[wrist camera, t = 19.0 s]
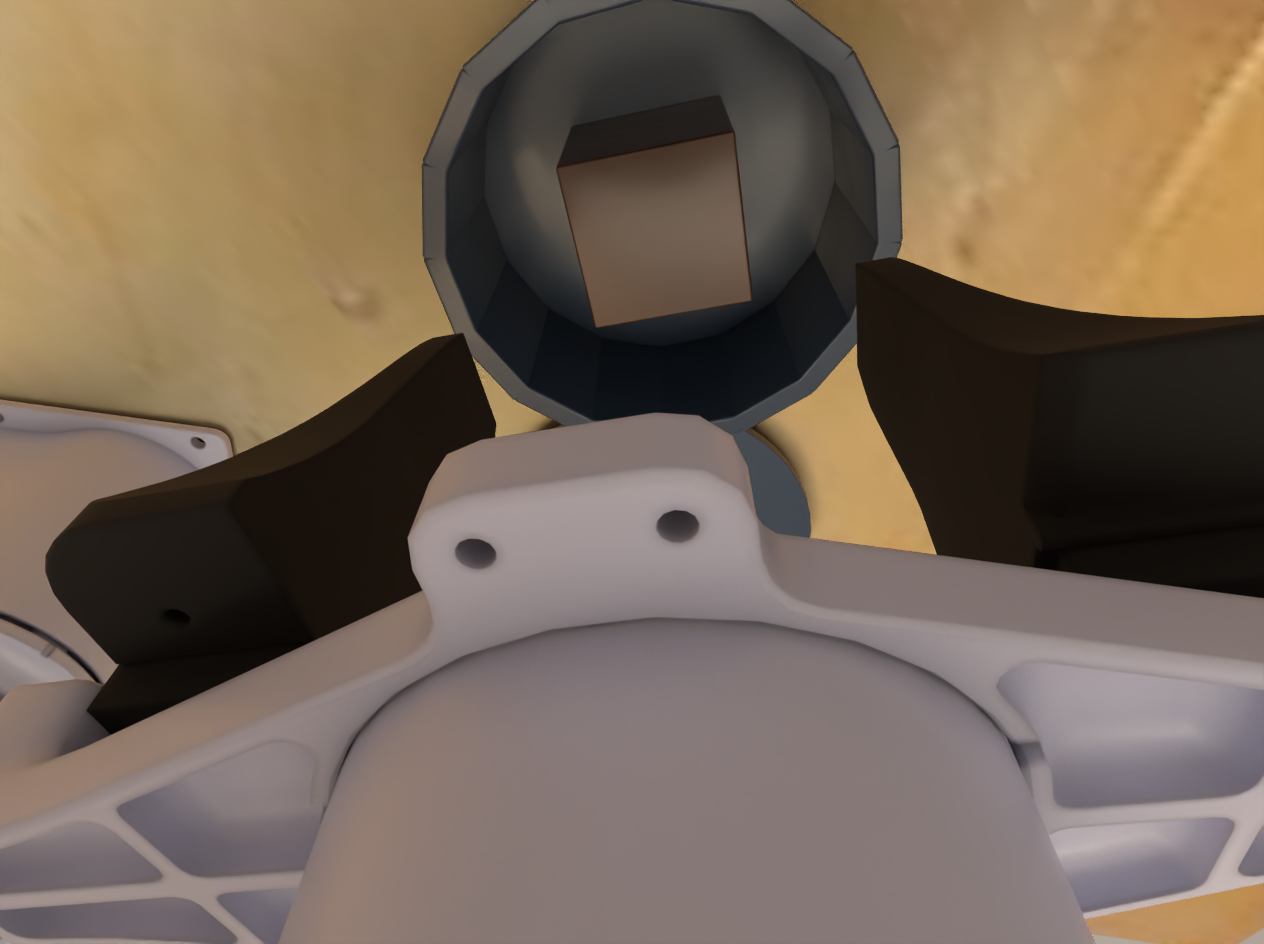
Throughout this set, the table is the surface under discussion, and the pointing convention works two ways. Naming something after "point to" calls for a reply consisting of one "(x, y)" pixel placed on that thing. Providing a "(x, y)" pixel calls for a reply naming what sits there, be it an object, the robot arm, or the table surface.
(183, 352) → the table surface
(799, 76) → the pot
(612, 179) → the block
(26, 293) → the table surface
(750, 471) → the lid
